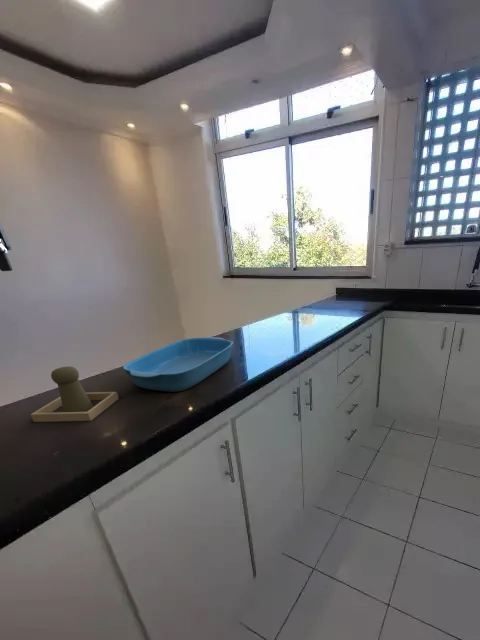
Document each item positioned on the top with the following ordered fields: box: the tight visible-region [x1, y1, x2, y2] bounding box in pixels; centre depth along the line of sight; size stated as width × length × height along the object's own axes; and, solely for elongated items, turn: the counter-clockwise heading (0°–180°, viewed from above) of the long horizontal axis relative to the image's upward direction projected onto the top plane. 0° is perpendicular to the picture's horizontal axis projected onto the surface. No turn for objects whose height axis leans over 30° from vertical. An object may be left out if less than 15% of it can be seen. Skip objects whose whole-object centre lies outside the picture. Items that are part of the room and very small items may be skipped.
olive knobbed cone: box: [50, 366, 94, 412], centre depth 74 cm, size 6×6×11 cm
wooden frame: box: [29, 391, 119, 423], centre depth 76 cm, size 14×12×3 cm
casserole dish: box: [122, 336, 234, 393], centre depth 96 cm, size 37×22×7 cm, turn 163°
